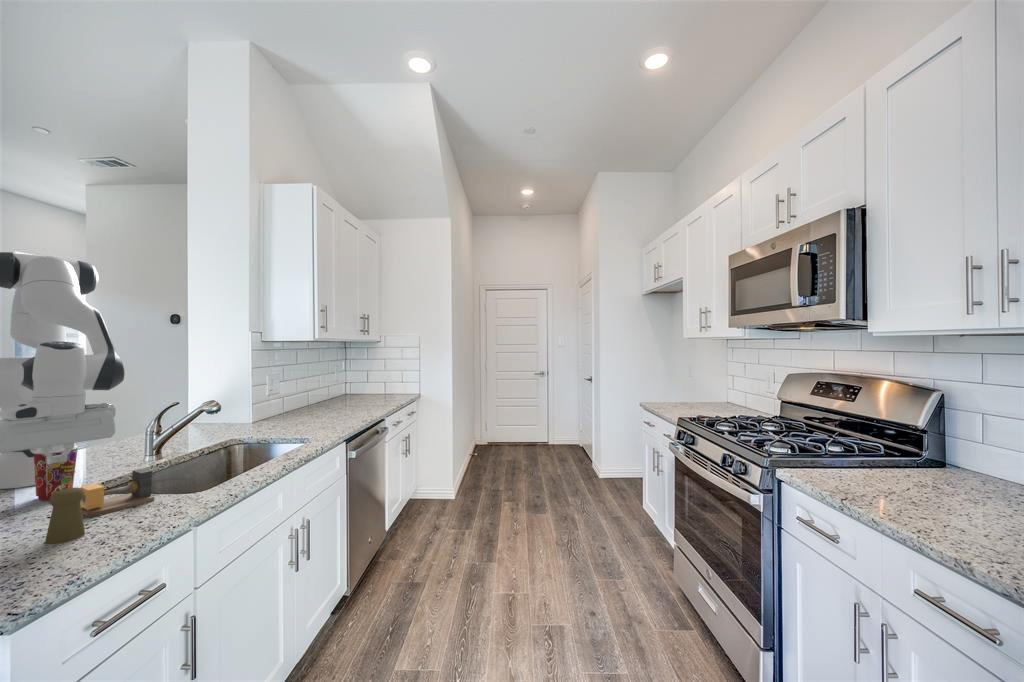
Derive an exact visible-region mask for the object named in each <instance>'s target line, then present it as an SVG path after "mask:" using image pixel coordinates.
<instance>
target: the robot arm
mask: <svg viewBox="0 0 1024 682" xmlns="http://www.w3.org/2000/svg"><path fill="white" fill-rule="evenodd" d="M99 280H100V277H99V273H98V272H97V269H96V267H95V266H94V265H93V264H91V263H88V262H85V261H81V260H72V259H67V258H62V257H58V256H50V255H47V256H45V255H40V254H39V255H38V254H26V253H24V254H23V253H13V252H11V251H10V252H9V251H7V252H5V251H1V252H0V288H2V289H8V290H12V289H15V291H14V295H13V299H12V304H11V315H10V331H9V335H10V337H11V338H12V339H13V340H14V341H15V342H17V343H19V344H21V345H23V346H26V347H30V348H33V349H36V351H35V354H34V356H33V357H0V409H1V410H0V418H1V420H0V489H1V490H2V489H3V490H4V489H7V490H8V489H17V488H25V487H30V486H35V469H34V453H33V451H34V450H36V448H41V452H42V453H43V454H44V455H45V456H46V457H47V464H48V465H51V464H57V463H63V462H67V455H68V454H69V453H70V452H71V450H72V449H73V448H74V443H75V444H76V443H82V442H88V441H89V442H90V441H96V440H103V439H109V438H112V437H113V436H114V435H115V434H116V424H115V423H116V422H115V419H114V418H115V417H116V412H117V411H116V409H117V408H116V407H115V406H114V405H112V404H109V403H108V402H106V403H105V402H103V403H93V404H86V393H87V392H86V391H110V390H112V389H114V388H116V387H117V386H119V385H120V384H121V383H123V381H124V380H125V374H126V370H125V369H126V368H125V366H124V365H125V364H124V363H123V361H122V359H121V357H120V355H119V354H118V352H117V350H116V347H115V345H114V342H113V340H112V336H111V335H110V332H109V330H108V329H109V328H108V327H107V325H106V322H105V320H104V318H103V315H102V313H100V311H99V310H98V308H95V307H93V306H91V305H89V303H87V302H86V301H85V299H84V298H83V295H88V294H90V293H92V292H93V291H95V289H96V288H97V287H98V285H99ZM67 328H69V329H72V330H75V331H78V332H79V333H82V334H84V335H85V336H86V338H87V339H88V342H89V345H90V348H91V351H92V353H93V354H86V353H85V348H84V345H82V344H81V343H77V342H73V341H72V342H70V341H68V338H67V330H66V329H67ZM62 444H63V447H64V448H65V450H64V451H63V452H62V454H61V455H56V456H53V455H52V454H51V453H50V452H49V451H51V450H52V446H55V445H62Z"/></svg>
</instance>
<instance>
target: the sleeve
mask: <svg viewBox="0 0 1024 682" xmlns="http://www.w3.org/2000/svg"><path fill="white" fill-rule="evenodd" d="M80 488H81V489H82V490H83V492H84V496H86V498H85V501H82V500H81V501H80V505H81V507H83V508H85V509H86V510H89V509H93V508H97V507H101V506H104V500H105V496H104V491H105V486H104V485H101V484H99V483H97V482H96V483H92V484H87V485H82V486H80Z"/></svg>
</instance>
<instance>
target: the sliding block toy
mask: <svg viewBox="0 0 1024 682" xmlns="http://www.w3.org/2000/svg"><path fill="white" fill-rule="evenodd" d="M131 474H132V475H131V476H132V477H131V481H130V482H128V485H126V486H121V487H117V488H111V489H108V490H104V497H105V496H109V495H113V494H118V493H121V492H125V491H129V493H126V494H122V495H118V496H114V497H110V498H104V506H101V507H97V508H93V509H89V510H86V509H85V508H83V507H81V511H82V516H85V517H87V518H95V517H97V516H101V515H105V514H108V513H113V512H115V511H116V512H117V511H120V510H124V509H127V507H128V508H131V506H132V507H136V506H139V505H142V504H146V503H149V502H153V501H155V496H154V495H152V481H153V480H152V479H153V476H152V475H153V470H151V469H148V468H145V467H141V468H137V469H134V470H132V472H131ZM85 498H86V496H84V497H83V499H82V501H85Z"/></svg>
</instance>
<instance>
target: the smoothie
mask: <svg viewBox="0 0 1024 682" xmlns="http://www.w3.org/2000/svg"><path fill="white" fill-rule="evenodd" d="M78 448H79V445H77V444H76V443H74V448H73V449H72V450H71V452H70V453H69V454H68V455H67V462H63V463H57V464H51V465H48V464H47V457H46V456H45V455H44V454H43V453H42V452H41V448H36V450H34V451H33V453H34V469H35V485H34V487H35V496H36V497H37V498H38V500H39V501H45V502H46V501H50V496H51V495H52V494H53V493H54V492H56V491H59V490H62V489H66V488H74V487H73V486H74V481H75V473H76V467H77V466H76V465H77V464H76V463H77V458H78V457H77V456H78ZM64 450H65V448H64V447H63V444H62V445H55V446H52V450H51V451H49V452H50V453H51V454H52V455H53V456H56V455H61V454H62V452H63V451H64Z"/></svg>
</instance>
